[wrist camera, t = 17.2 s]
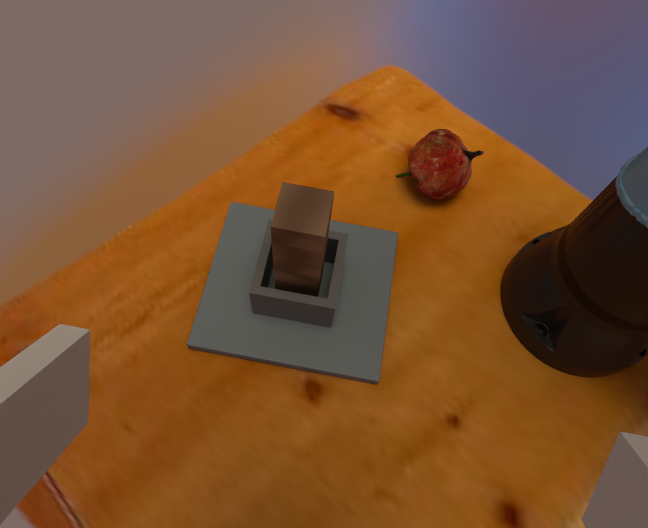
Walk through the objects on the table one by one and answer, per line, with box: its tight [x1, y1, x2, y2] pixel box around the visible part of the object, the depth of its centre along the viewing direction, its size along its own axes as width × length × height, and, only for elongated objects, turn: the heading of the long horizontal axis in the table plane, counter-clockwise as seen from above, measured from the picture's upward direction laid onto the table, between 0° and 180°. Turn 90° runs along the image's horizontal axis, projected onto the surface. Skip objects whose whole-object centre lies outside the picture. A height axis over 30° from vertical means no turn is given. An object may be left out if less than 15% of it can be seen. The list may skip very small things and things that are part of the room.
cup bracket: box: [187, 202, 398, 384], centre depth 48 cm, size 18×16×6 cm
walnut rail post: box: [271, 182, 334, 297], centre depth 43 cm, size 4×4×14 cm
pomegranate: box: [396, 129, 484, 200], centre depth 54 cm, size 7×7×10 cm
